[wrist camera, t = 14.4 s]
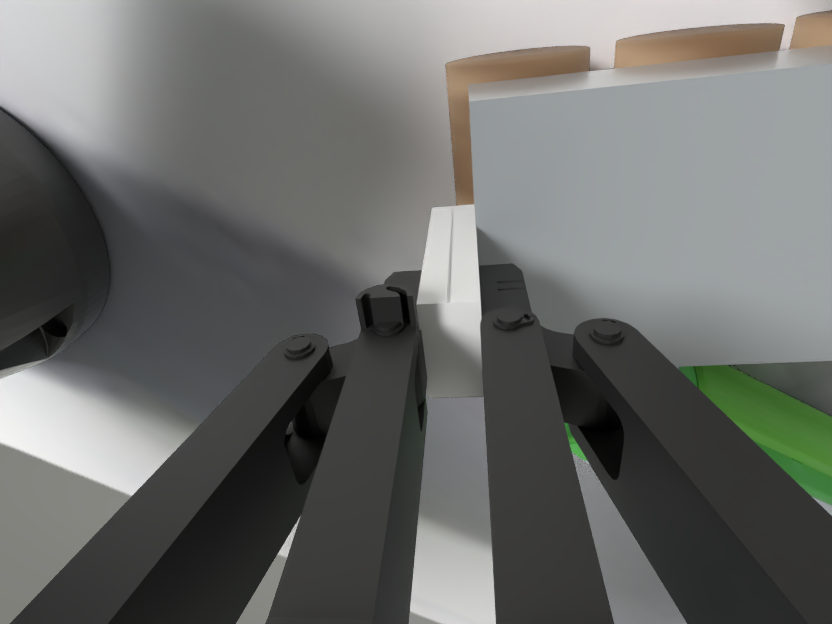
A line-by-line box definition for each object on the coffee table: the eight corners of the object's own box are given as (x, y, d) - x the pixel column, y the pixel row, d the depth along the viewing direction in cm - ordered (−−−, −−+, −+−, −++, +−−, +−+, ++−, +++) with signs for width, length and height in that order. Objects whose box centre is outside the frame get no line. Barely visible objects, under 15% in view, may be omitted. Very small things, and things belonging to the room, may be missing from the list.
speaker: (531, 380, 28) (551, 487, 22) (611, 280, 25) (663, 373, 18) (770, 487, 31) (849, 610, 25) (872, 412, 28) (996, 533, 21)
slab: (479, 321, 21) (483, 374, 18) (467, 84, 16) (469, 101, 13) (970, 296, 18) (1070, 351, 15) (1119, 13, 14) (1301, 14, 11)
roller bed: (464, 278, 25) (464, 333, 21) (447, 59, 20) (443, 72, 16) (832, 252, 23) (916, 307, 19) (917, -1, 18) (1059, -5, 14)
